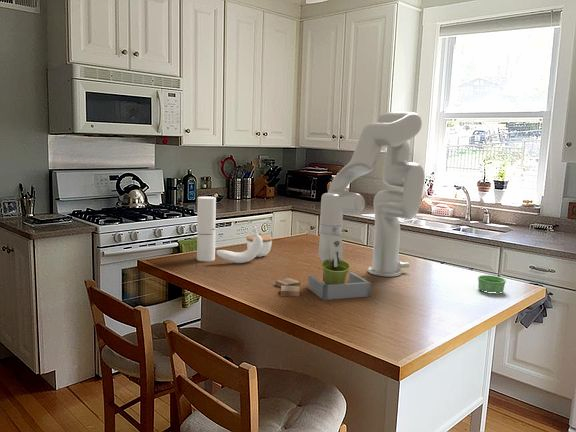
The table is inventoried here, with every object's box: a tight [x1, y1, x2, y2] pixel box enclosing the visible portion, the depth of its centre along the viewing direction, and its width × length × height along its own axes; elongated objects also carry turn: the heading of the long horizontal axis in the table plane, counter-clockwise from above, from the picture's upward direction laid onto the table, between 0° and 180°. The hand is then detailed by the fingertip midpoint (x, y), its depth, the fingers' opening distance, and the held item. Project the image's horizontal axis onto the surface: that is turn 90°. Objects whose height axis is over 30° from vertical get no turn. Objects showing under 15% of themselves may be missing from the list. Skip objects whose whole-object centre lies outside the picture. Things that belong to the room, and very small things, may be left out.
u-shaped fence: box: [307, 271, 372, 301], centre depth 171 cm, size 16×13×4 cm
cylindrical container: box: [196, 195, 217, 262], centre depth 207 cm, size 7×7×25 cm
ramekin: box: [477, 274, 507, 293], centre depth 179 cm, size 9×9×4 cm
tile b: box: [280, 285, 301, 297], centre depth 168 cm, size 6×6×2 cm
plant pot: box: [321, 259, 351, 285], centre depth 172 cm, size 9×9×9 cm
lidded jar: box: [246, 232, 273, 258], centre depth 218 cm, size 11×11×9 cm
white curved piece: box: [215, 224, 263, 264], centre depth 204 cm, size 5×19×15 cm, turn 120°
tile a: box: [274, 277, 301, 288], centre depth 176 cm, size 6×6×2 cm
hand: (328, 281), depth 179 cm, fingers closed
